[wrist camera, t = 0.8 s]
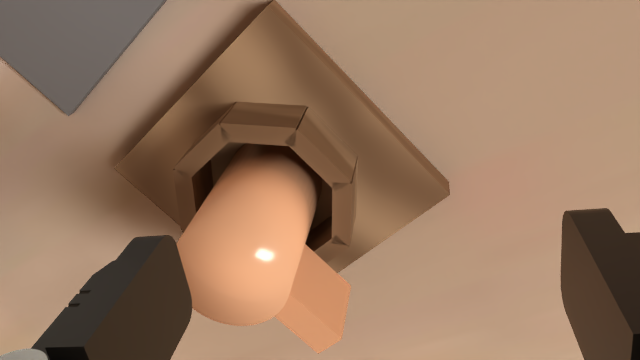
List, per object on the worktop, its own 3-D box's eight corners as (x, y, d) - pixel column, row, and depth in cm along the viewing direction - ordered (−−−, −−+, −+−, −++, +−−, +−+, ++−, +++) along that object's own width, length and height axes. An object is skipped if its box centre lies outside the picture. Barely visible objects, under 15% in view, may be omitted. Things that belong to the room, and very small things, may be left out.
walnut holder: (274, -1, 30) (251, 19, 26) (448, 181, 33) (451, 224, 29) (125, 157, 36) (88, 193, 32) (285, 297, 39) (270, 345, 35)
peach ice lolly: (210, 176, 34) (145, 269, 26) (272, 118, 31) (221, 202, 23) (316, 272, 36) (287, 386, 28) (382, 226, 33) (370, 335, 26)
